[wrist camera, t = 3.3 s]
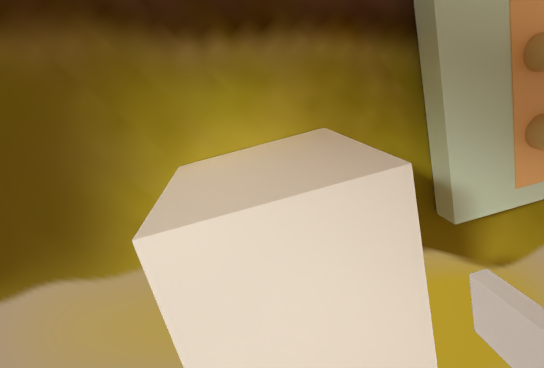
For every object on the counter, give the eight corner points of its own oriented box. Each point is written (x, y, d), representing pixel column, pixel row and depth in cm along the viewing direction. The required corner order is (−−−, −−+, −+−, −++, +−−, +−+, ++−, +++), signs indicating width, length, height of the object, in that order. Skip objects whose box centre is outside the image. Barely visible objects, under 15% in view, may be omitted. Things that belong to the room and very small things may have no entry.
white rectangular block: (370, 358, 20) (457, 525, 12) (256, 393, 20) (273, 586, 12) (324, 127, 16) (411, 163, 8) (179, 166, 16) (131, 240, 8)
